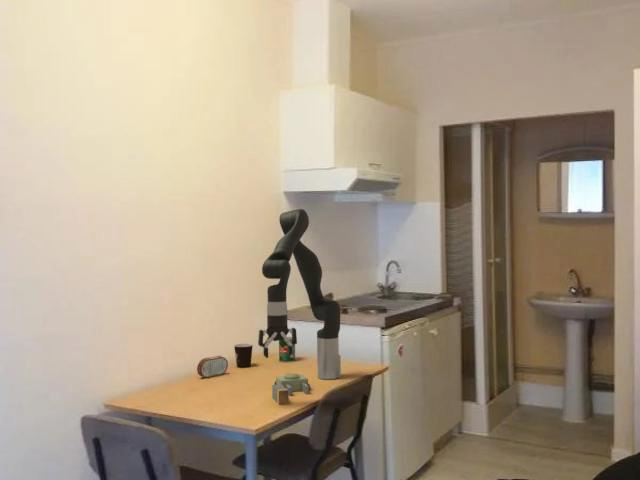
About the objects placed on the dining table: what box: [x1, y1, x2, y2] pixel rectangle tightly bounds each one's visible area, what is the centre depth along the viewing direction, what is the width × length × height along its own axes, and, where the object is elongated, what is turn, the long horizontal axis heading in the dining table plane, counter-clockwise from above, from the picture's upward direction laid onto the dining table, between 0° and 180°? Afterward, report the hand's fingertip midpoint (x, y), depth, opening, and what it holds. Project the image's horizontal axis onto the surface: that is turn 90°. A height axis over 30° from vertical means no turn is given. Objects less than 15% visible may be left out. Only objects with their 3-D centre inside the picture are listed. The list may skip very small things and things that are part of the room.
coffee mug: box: [233, 343, 253, 369], centre depth 316 cm, size 12×9×10 cm
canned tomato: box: [278, 336, 296, 363], centre depth 326 cm, size 8×8×11 cm
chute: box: [271, 384, 290, 406], centre depth 251 cm, size 4×10×5 cm, turn 18°
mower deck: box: [273, 373, 311, 397], centre depth 267 cm, size 12×15×6 cm
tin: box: [196, 355, 229, 379], centre depth 295 cm, size 15×3×8 cm, turn 134°
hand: (277, 356), depth 251 cm, fingers open, 8 cm apart
